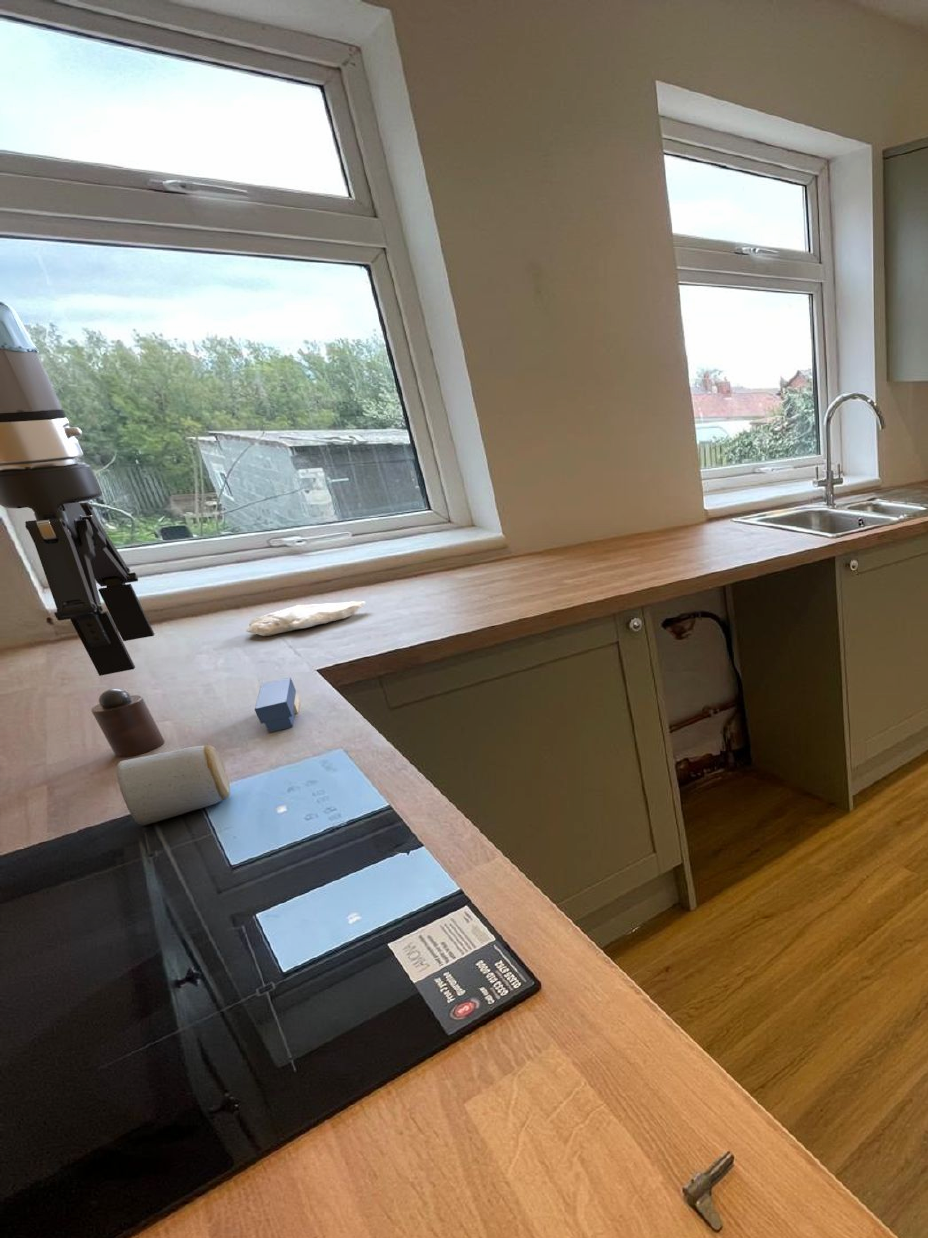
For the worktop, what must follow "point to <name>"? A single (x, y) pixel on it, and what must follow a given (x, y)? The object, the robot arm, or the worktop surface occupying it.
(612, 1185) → the worktop surface
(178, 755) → the white canister
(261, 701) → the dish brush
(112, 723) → the pepper mill
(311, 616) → the rock
